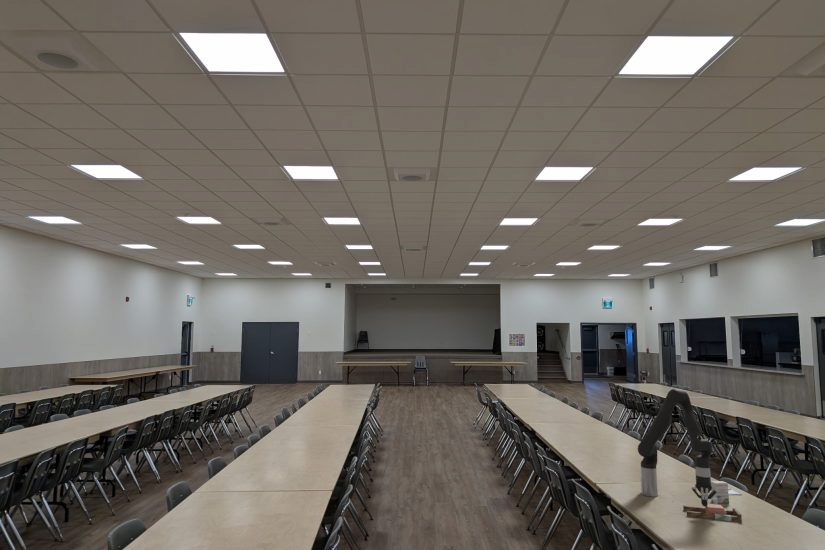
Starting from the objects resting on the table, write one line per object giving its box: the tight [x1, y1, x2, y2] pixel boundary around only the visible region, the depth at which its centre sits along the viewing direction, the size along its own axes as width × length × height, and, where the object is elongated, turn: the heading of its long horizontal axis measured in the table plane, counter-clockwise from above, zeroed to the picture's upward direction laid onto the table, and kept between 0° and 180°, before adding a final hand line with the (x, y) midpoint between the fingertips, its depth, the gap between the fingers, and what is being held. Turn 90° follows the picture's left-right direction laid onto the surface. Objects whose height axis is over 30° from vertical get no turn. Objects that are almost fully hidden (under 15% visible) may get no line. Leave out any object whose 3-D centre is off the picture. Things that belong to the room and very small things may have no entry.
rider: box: [704, 503, 725, 515], centre depth 284 cm, size 8×6×6 cm
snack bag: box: [709, 487, 743, 496], centre depth 330 cm, size 19×20×2 cm
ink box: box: [710, 480, 730, 504], centre depth 309 cm, size 8×5×12 cm, turn 93°
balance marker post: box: [712, 498, 719, 505], centre depth 292 cm, size 2×2×7 cm
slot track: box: [682, 504, 743, 523], centre depth 284 cm, size 27×11×4 cm, turn 72°
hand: (704, 506), depth 285 cm, fingers closed
